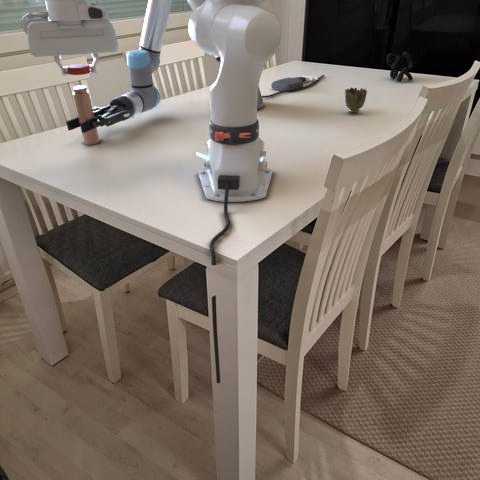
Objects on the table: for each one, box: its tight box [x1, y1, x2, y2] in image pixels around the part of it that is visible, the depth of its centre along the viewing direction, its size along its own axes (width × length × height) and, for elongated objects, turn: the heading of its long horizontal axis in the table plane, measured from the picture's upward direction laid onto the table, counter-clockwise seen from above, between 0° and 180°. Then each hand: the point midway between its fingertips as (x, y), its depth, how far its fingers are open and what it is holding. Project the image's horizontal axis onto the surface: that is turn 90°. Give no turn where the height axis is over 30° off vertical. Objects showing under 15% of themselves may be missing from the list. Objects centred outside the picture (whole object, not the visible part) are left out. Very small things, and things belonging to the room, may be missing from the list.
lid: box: [66, 63, 91, 76], centre depth 109 cm, size 5×5×2 cm
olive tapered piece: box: [344, 87, 368, 115], centre depth 156 cm, size 8×7×8 cm
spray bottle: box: [270, 75, 319, 92], centre depth 194 cm, size 3×11×24 cm
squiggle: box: [385, 51, 414, 83], centre depth 198 cm, size 11×10×15 cm
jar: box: [72, 85, 100, 146], centre depth 133 cm, size 5×5×16 cm
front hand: (79, 73), depth 110 cm, fingers closed on lid, 5 cm apart
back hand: (75, 127), depth 130 cm, fingers closed on jar, 5 cm apart
